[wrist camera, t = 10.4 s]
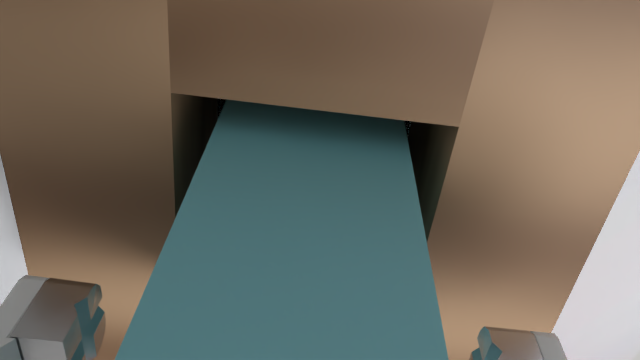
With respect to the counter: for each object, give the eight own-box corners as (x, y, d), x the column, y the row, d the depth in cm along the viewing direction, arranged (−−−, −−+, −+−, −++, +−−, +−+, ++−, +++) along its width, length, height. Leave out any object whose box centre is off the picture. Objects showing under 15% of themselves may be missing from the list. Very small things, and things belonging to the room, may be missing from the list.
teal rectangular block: (248, 49, 19) (87, 421, 7) (394, 66, 19) (467, 460, 7) (243, 172, 22) (121, 589, 10) (371, 187, 22) (398, 616, 10)
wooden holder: (62, -159, 16) (-70, -148, 11) (615, -88, 16) (734, -45, 11) (112, 264, 25) (52, 380, 20) (473, 304, 25) (504, 427, 20)
